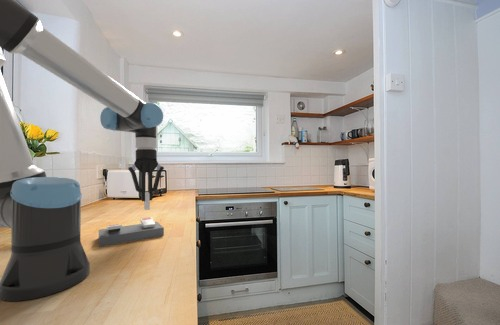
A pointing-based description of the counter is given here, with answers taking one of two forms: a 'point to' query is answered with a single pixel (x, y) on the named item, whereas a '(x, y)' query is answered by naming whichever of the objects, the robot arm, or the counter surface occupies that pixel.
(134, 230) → the power strip
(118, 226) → the left rocker
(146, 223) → the right rocker
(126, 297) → the counter surface
